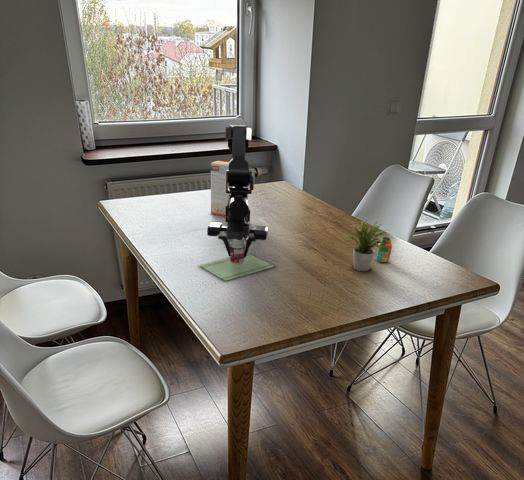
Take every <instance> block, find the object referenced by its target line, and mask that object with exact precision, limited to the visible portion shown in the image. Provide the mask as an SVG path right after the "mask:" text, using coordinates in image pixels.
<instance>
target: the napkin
mask: <svg viewBox="0 0 524 480" xmlns="http://www.w3.org/2000/svg"><path fill="white" fill-rule="evenodd" d="M199 267H200V268H202V269H203V270H205V271H207V272H209V273H211V274H212V275H214V276H215V277H217V278H219V279H221V280H222V281H224V282H227V281H230V280H234V279H239V278H241V277H245V276H249V275H252V274H255V273H259V272H262V271H265V270H269V269H272V268H275V266H274V265H272V264H270V263H268V262H266V261H265V260H263V259H261V258H260V257H259V258H258V257H257V256H254V255H252V254H250V253H248V252H247V255H246V258H245V262H244V264H242V265H233V264H231V263H230V257H229V258H228V257H227V258H224V259H221V260H215V261H213V262H209V263H205V264H201V265H199Z"/></svg>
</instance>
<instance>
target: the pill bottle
mask: <svg viewBox="0 0 524 480" xmlns="http://www.w3.org/2000/svg"><path fill="white" fill-rule="evenodd" d="M245 247H246V243H245V238H243V239H242V240H236V239H231V240H230V256H229V258H230V263H231V264H233V265H242V264H244V262H245V257H244V254H245Z"/></svg>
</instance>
